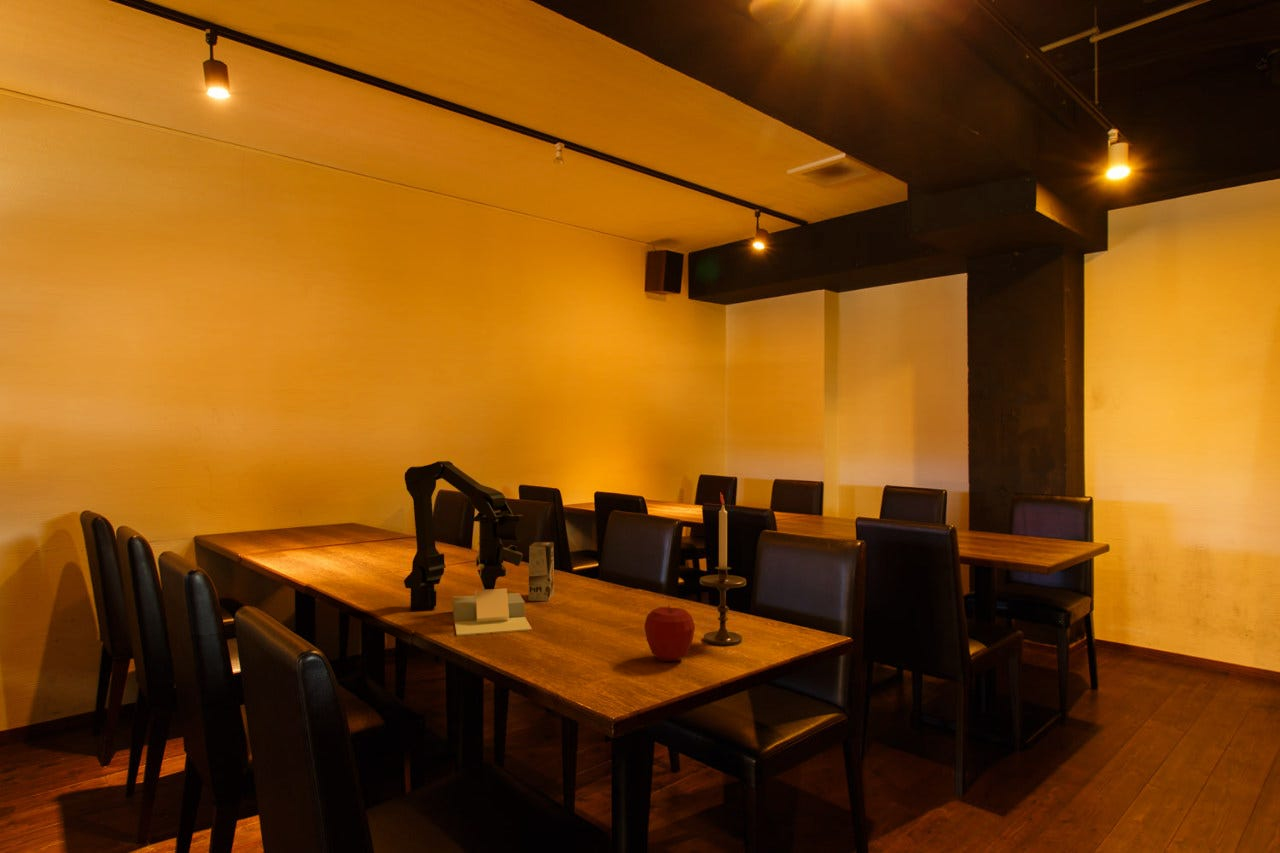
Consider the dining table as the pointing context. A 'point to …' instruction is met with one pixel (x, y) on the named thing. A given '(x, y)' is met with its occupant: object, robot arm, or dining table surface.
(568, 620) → the dining table surface
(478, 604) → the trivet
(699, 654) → the dining table surface
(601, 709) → the dining table surface
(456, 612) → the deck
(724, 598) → the candlestick
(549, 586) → the coffee box
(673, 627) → the apple
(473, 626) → the mat
